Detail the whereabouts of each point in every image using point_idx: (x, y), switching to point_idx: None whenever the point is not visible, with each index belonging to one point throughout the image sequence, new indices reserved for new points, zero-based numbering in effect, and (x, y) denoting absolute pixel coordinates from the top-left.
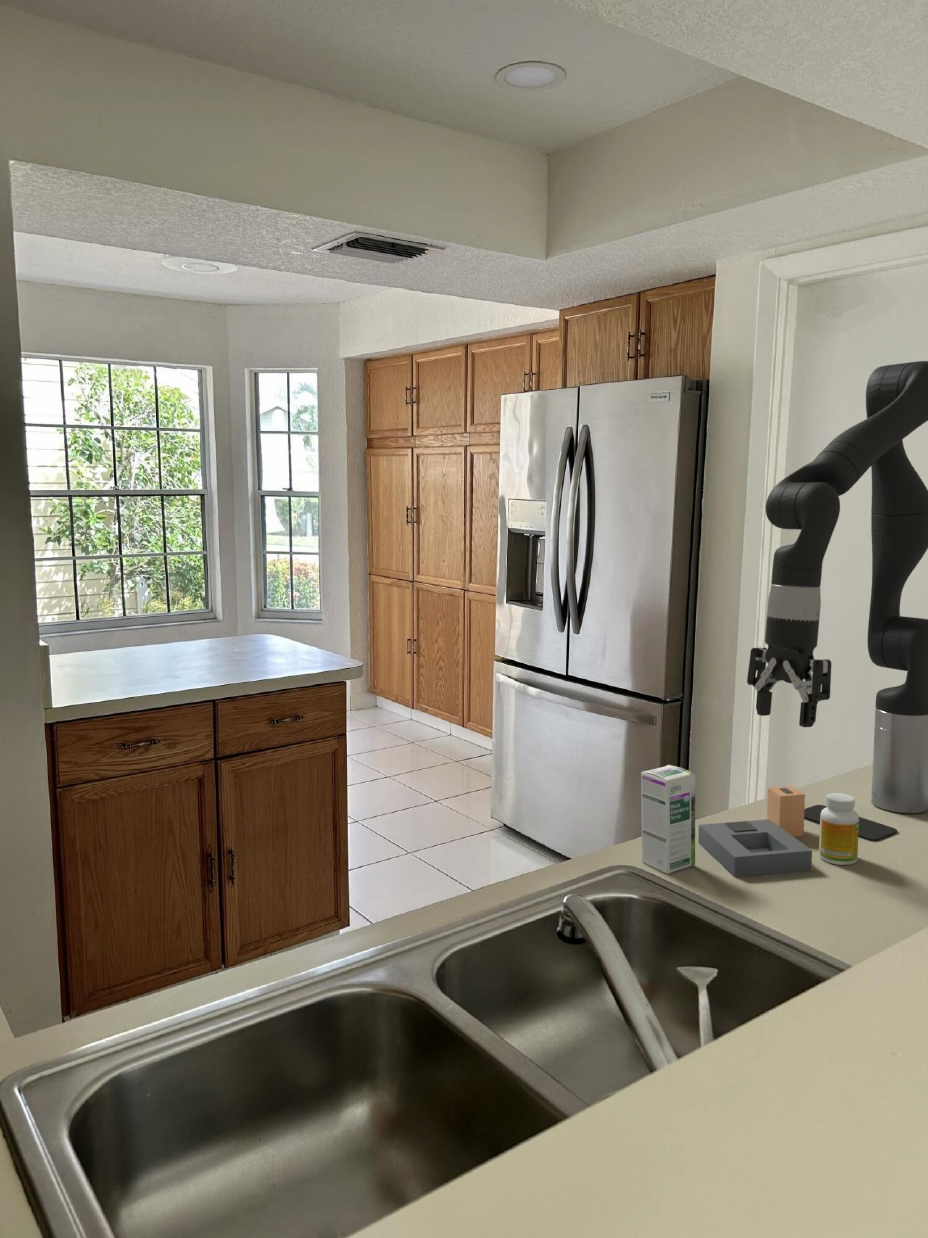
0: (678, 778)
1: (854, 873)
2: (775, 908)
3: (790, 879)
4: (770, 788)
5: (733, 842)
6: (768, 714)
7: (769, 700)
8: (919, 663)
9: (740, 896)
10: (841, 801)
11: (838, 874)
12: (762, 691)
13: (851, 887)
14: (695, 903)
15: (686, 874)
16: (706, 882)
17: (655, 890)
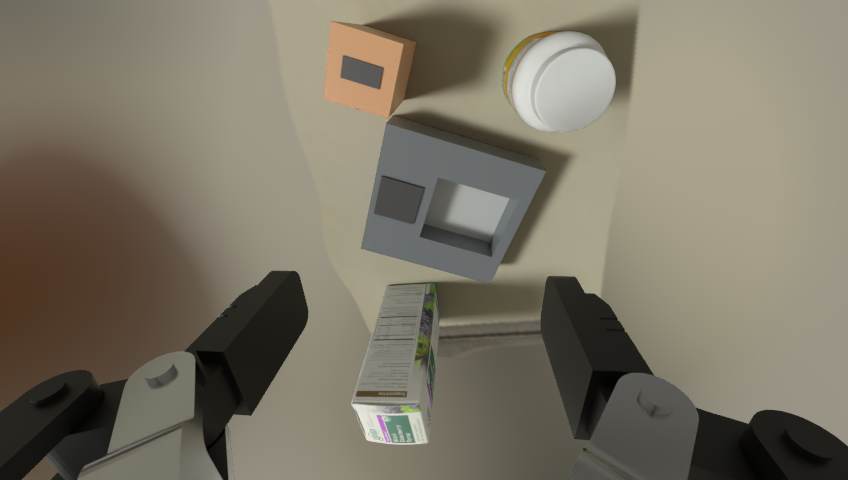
0: (426, 427)
1: None
2: (582, 283)
3: (539, 210)
4: (330, 96)
5: (446, 252)
6: (298, 279)
7: (260, 326)
8: None
9: (533, 292)
10: (596, 118)
11: (578, 131)
12: (232, 408)
13: (622, 153)
14: (514, 335)
15: (449, 302)
16: (480, 298)
17: (465, 345)
